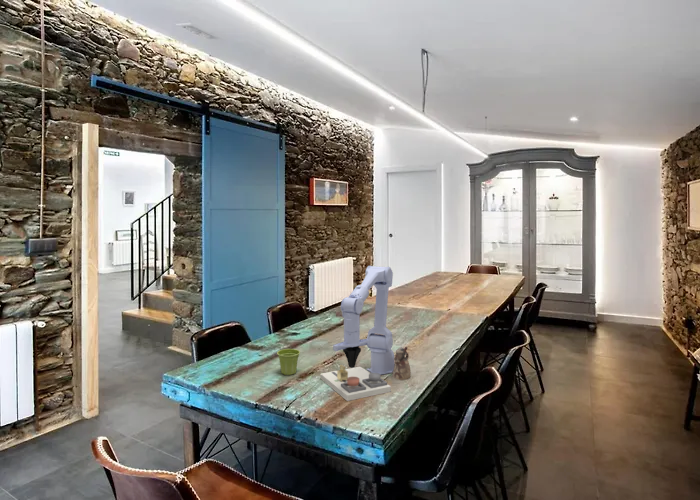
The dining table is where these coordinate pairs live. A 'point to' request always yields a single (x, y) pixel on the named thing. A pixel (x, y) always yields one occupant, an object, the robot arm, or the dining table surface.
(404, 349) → the figurine
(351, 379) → the red button
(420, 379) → the dining table surface
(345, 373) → the brass slider
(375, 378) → the grey button
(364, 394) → the control board
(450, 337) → the dining table surface
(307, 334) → the dining table surface
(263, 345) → the dining table surface
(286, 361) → the plant pot
